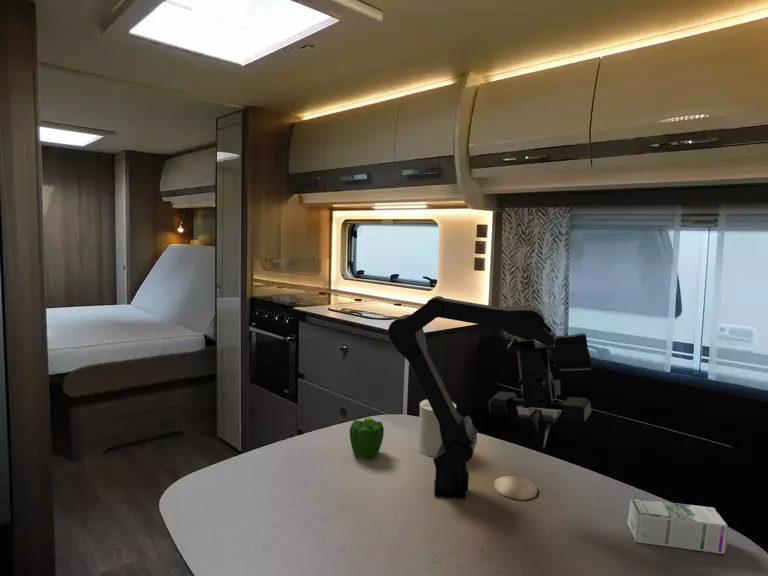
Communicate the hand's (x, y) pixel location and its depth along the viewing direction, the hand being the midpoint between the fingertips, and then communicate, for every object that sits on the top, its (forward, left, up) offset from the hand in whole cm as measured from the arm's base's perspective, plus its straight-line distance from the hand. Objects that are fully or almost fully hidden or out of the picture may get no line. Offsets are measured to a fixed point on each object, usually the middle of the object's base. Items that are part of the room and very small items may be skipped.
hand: (542, 447), depth 100 cm
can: (-21, +23, -13) cm, 33 cm away
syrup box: (+15, -7, -9) cm, 19 cm away
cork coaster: (-4, +6, -12) cm, 14 cm away
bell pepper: (-38, +17, -13) cm, 43 cm away
